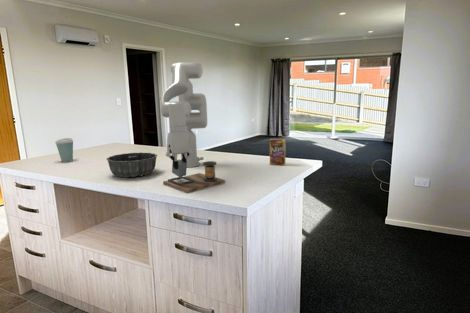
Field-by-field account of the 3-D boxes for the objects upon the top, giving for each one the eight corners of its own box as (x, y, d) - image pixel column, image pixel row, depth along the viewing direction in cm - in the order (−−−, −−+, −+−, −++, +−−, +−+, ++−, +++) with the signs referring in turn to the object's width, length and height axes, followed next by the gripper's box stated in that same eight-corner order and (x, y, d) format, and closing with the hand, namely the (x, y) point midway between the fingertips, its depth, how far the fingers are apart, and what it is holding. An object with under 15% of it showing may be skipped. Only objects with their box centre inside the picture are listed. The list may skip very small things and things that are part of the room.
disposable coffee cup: (68, 163, 210) (65, 140, 207) (54, 162, 211) (50, 140, 208) (79, 159, 220) (76, 137, 217) (64, 159, 222) (62, 137, 219)
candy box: (269, 165, 191) (269, 139, 188) (271, 163, 195) (271, 138, 192) (284, 165, 188) (284, 139, 185) (285, 164, 192) (285, 138, 189)
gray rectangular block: (179, 170, 157) (179, 159, 155) (186, 175, 153) (186, 163, 151) (171, 172, 154) (172, 160, 152) (178, 176, 150) (179, 164, 148)
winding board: (199, 175, 170) (199, 156, 168) (225, 182, 156) (224, 162, 154) (163, 184, 155) (162, 164, 153) (187, 193, 141) (186, 170, 139)
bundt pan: (133, 166, 195) (132, 150, 193) (168, 170, 183) (167, 153, 181) (97, 177, 172) (95, 159, 170) (134, 182, 160) (132, 163, 158)
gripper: (188, 127, 157) (190, 164, 160) (157, 130, 146) (160, 169, 149) (197, 128, 151) (199, 166, 155) (166, 131, 140) (169, 172, 144)
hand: (180, 167), depth 152 cm, fingers closed on gray rectangular block, 4 cm apart
